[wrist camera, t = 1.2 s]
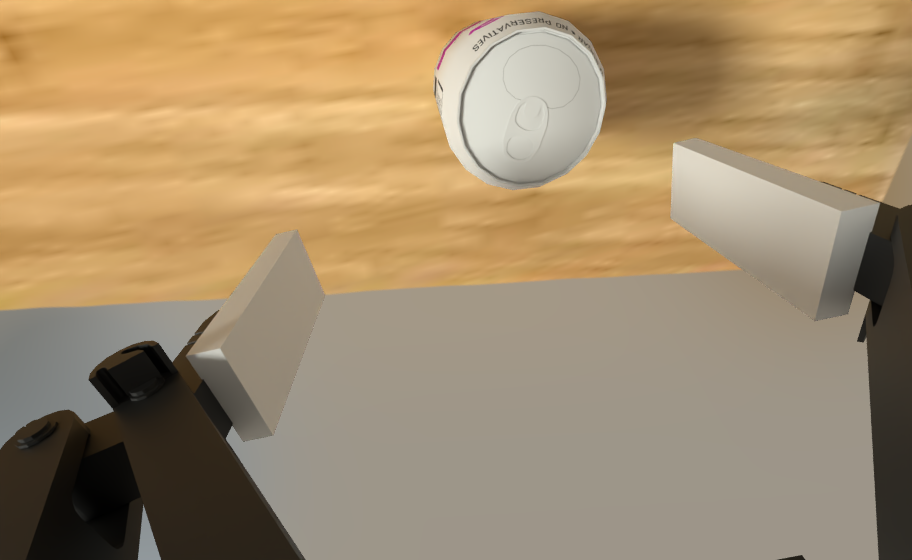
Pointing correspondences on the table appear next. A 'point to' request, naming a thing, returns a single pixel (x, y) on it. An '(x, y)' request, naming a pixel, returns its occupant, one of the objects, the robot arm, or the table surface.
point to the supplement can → (520, 98)
